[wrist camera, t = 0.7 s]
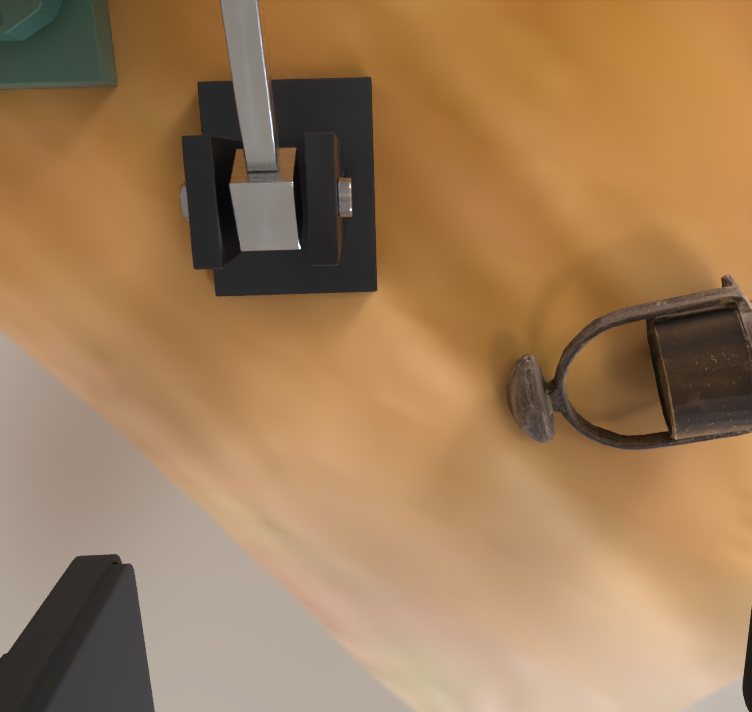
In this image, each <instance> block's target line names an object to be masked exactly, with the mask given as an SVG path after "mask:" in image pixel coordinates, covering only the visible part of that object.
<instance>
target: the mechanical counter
mask: <svg viewBox="0 0 752 712" xmlns="http://www.w3.org/2000/svg"><path fill="white" fill-rule="evenodd" d="M721 281H722V288H718V289H713V290H708V291H703V292H699V293H695V294H690V295H686V296H680V297H675V298H670V299H665V300H660V301H655V302H650V303H645V304H640V305H635V306H630V307H626V308H623V309H620V310H618V311H615V312H612V313H609V314H607V315H605V316H602V317H600V318H598V319H596V320H594V321H593V322H592V323H590V324H589V325H588V326H587V327H585V328H584V329H583V330H582V331H581V332H580V333H579V334H578V335H577V336H576V337H575V338H574V339H573V340H572V341H571V342H570V343H569V344H568V346H567V347H566V348H565V349H564V351H563V353H562V356H561V358H560V361H559V363H558V366H557V369H556V373H555V377H554V378H553V380H545V379H544V378H543V375H542V372H541V369H540V367H539V364H538V361H537V359H536V358H535V357H534V356H533V355H528V354H526V355H524V356H522V357H521V358H520V359H519V360H518V361H517V362H516V363H515V365H514V367H513V368H512V370H511V374H510V377H509V380H508V384H507V401H508V406H509V408H510V410H511V413H512V415H513V417H514V419H515V421H516V422H517V424H518V425H519V427H520V428H521V429H522V430H523V431H524V432H525V433H526V434H527V435H528V436H529V437H531V438H532V439H533V440H535V441H538V442H541V443H546V442H548V441H550V440H551V439H553V438H554V435H555V429H554V422H553V412H557V411H558V412H561V413H562V414H563V416H564V417H565V418H566V420H567V421H568V422H569V423H570V424H571V425H572V426H573V427H574V428H575V429H576V430H577V431H578V432H579V433H580V434H582V435H584V436H586V437H588V438H589V439H591V440H593V441H595V442H598V443H600V444H603V445H607V446H611V447H616V448H620V449H626V450H646V449H654V448H661V447H668V446H674V445H681V444H688V443H694V442H700V441H706V440H713V439H720V438H726V437H733V436H739V435H743V434H748V433H752V301H750V300H749V299H748V298H747V297H746V295H745V293H744V292H743V291H742V290H741V289H740V287H739V285H738V284H737V282H736V281H735V279H734V278H733V277H732V276H731V275H725V276H723V277H722V278H721ZM645 319H646V324H647V339H648V343H649V347H650V352H651V357H652V363H653V368H654V372H655V377H656V383H657V388H658V393H659V398H660V402H661V406H662V411H663V415H664V418H665V422H666V425H667V427H668V430H669V431H667V432H659V433H653V434H646V435H632V436H627V435H620V434H617V433H614V432H611V431H608V430H605V429H603V428H600V427H597V426H594V425H593V424H591V423H590V422H588V421H587V420H585V419H584V418H583V417H582V416H581V415H579V414H578V413H577V412H576V410H575V409H574V407H573V406H572V404H571V403H570V401H569V399H568V396H567V392H566V384H565V380H566V376H567V373H568V369H569V367H570V365H571V363H572V361H573V359H574V357H575V356H576V354H577V353H578V352H579V351H580V350H581V349H582V348H583V347H584V346H585V345H586V344H587V343H588V342H589V341H590V340H592V339H593V338H595V337H596V336H598V335H599V334H601V333H603V332H605V331H607V330H609V329H611V328H613V327H617V326H620V325H623V324H627V323H631V322H636V321H640V320H645Z"/></svg>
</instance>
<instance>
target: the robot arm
mask: <svg viewBox="0 0 752 712" xmlns="http://www.w3.org/2000/svg"><path fill="white" fill-rule="evenodd" d="M743 696H744V700H745V703H746V706H747V708H748V710H749V712H752V609H751V618H750V626H749V635H748V643H747V651H746V660H745V668H744V677H743ZM0 712H155V710H154V703H153V697H152V690H151V683H150V676H149V669H148V663H147V655H146V648H145V641H144V635H143V628H142V621H141V614H140V607H139V601H138V594H137V586H136V580H135V573H134V569H133V567H132V565H131V564H122V562H121V559H120V557H119V556H118V555H117V554H111V555H89V556H77V557H76V558H75V559H74V560H73V561H72V562H71V564H70V565H69V567H68V568H67V570H66V571H65V573H64V574H63V575H62V577H61V578H60V579H59V581H58V582H57V584H56V585H55V586H54V588H53V589H52V591H51V592H50V594H49V595H48V597H47V598H46V599H45V601H44V602H43V604H42V605H41V606H40V608H39V609H38V611H37V612H36V614H35V615H34V616H33V618H32V619H31V621H30V622H29V624H28V625H27V626H26V628H25V629H24V630H23V632H22V633H21V635H20V636H19V638H18V639H17V640H16V642H15V643H14V645H13V646H12V648H11V649H10V650H9V652H8V653H6V654H4V655H3V656H2V657H1V658H0Z"/></svg>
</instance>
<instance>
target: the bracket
mask: <svg viewBox="0 0 752 712" xmlns="http://www.w3.org/2000/svg"><path fill="white" fill-rule="evenodd" d="M197 84H198V95H199V107H200V118H201V130H202V135H194V136H182V138H181V139H182V150H183V161H184V171H185V182H183V183H182V185H181V189H180V204H181V210H182V214H183V217H184V219H185V221H187V222H189V225H190V236H191V246H192V257H193V268H194V269H213V270H214V281H215V293H216V296H247V295H279V294H311V293H343V292H375V291H377V268H376V231H375V195H374V158H373V121H372V85H371V77H358V78H320V79H282V80H271V84H272V92H273V101H274V109H275V118H276V126H277V135H278V143H279V148H296V149H297V154H298V164H299V174H300V185H301V195H302V205H303V223H302V238H301V248H300V249H299V250H268V251H241V250H240V247H239V241H238V236H237V230H236V224H235V219H234V213H233V208H232V202H231V196H230V191H229V180H230V175H231V170H232V166H233V161H234V156H235V151H236V149H243V146H242V139H241V133H240V126H239V120H238V114H237V107H236V101H235V94H234V88H233V82H232V81H207V82H198V83H197Z"/></svg>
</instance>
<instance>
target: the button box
mask: <svg viewBox="0 0 752 712" xmlns="http://www.w3.org/2000/svg"><path fill="white" fill-rule="evenodd" d="M116 86H117V79H116V70H115V61H114V52H113V43H112V34H111V26H110V17H109V8H108V0H0V90H4V89H41V88H79V87H116Z"/></svg>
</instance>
